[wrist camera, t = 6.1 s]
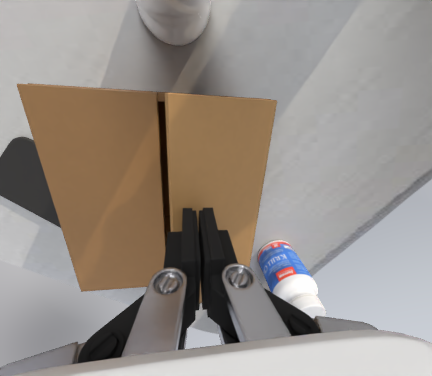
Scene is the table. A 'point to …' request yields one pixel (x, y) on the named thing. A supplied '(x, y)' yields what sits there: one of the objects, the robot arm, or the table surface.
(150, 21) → the beer glass
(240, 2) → the table surface
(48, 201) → the phone
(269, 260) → the pill bottle
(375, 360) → the robot arm
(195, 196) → the flap
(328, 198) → the table surface
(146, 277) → the carton
